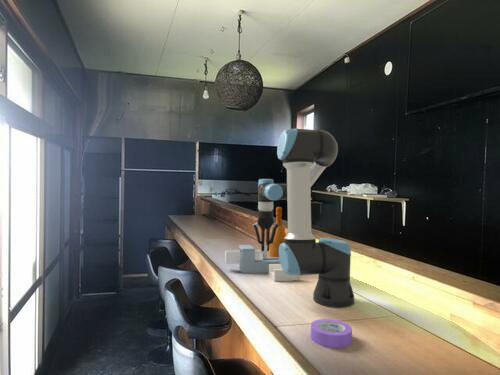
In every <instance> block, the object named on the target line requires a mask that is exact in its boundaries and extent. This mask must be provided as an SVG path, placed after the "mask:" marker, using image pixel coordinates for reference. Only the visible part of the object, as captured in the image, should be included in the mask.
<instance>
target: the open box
mask: <svg viewBox="0 0 500 375" xmlns="http://www.w3.org/2000/svg"><path fill="white" fill-rule="evenodd" d="M238 250H242V264H238V269H239V271H240V272H241V274H256V273H257V274H258V273H269V264H281V263H280V259H279V257H269V256H268V257H267V258H264V257H263V261H262V262H255V250H256V249H255V247H254V246H253V245H251V244H239V245H238Z"/></svg>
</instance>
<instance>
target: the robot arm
mask: <svg viewBox="0 0 500 375" xmlns="http://www.w3.org/2000/svg"><path fill="white" fill-rule="evenodd" d="M277 142H278V143H277V147H276V148H277V149H276V150H277V151H276V155H277V158H278V159H279V160H280V161H282V166H283V167H284V168H285V170H286V183H274V179H273V178H259V179H258V183H257V184H258V185H257V188H258V190H257V191H258V192H257V194H258V196H257V197H258V198H257V200H258V203H257V204H258V205H257V209H258V211H257V220H256V222H255V223H253V224H252V227H253V228H254V232H255V237H256V241H257V243H258V244H259V245H261V246H260V250H262V251H263V258H268V252H269V245H270V244H271V243H273V240H274V236H275V232H276V229H277V227H278V224H276V222H275V221H274V201H280V200H283V201H284V200H285V201H287V234H286V236H285V237H284V243H282V244H280V246H279V259H280V263H281V266H282V269H283V270H284V272H285V273H286V274H288V275H297V276H298V277H300V276H308V275H309V276H310V275H318V278H317V282H316V285H315V287H314V290H313V292H312V293H313V294H312V295H313V296H312V297H313V298H312V299H313V301H314V302H315V303H317V304H320V305H322V306H326V307H332V308H344V307H345V308H346V307H350V306H352V305H354V304H355V294H354V291H353V288H352V284H351V260H352V259H351V257H352V251H351V245H350V243H348V242H347V241H345V240H341V239H336V238H330V237H319V239H318V242H317V241H316V236H314V235H313V233H312V206H311V205H312V204H311V202H312V201H311V200H312V198H311V197H312V196H311V194H312V188H311V187H312V186H313V185H314V184H315V183H316V181H317V180H318V178H319V177H320V176H321V174H323V172H324V170H325V169H326V168H327V167H330V166H331V165H332V164H333V163H334V162H335V160H336V158H337V157H338V156H337V155H338V152H339V147H338V142H337V140H336V139H335V137H334V136H333V135H332V134H331V133H330V132H328V131H326V130H323V129H309V128H307V129H306V128H296V127H295V128H286V129H284V130H283V131H282V133H281V134H280V136H279V139H278V141H277ZM258 227H260V231H261V232H260V231H259V228H258ZM271 228H272V230H271ZM270 231H271V233H270ZM259 232H260V233H259Z"/></svg>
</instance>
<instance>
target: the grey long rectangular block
mask: <svg viewBox="0 0 500 375" xmlns="http://www.w3.org/2000/svg"><path fill="white" fill-rule="evenodd" d="M263 258H264V257H263V251H262V250H261V249H255V262H262V261H263ZM224 262H225V264H226V265H227V264H228V265H232V264H236V265H237V264H238V265H239V264H242V250H239V249H233V250H232V249H225V250H224Z"/></svg>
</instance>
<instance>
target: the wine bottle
mask: <svg viewBox="0 0 500 375" xmlns="http://www.w3.org/2000/svg"><path fill="white" fill-rule="evenodd" d="M282 212H283V208H282V207H281V206H276V208H275V215H276V218H275V219H276V220H275V223H276V224H278V227H277V229H276V232H275V236H274V240H273V243H271V244H270V245H269V251H268V255H269V256H268V258H269V257H279V246H280V244H282V243H284V237H285V236H286V235H287V234H286V227H285V225H283V222H282V216H283V213H282Z"/></svg>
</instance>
